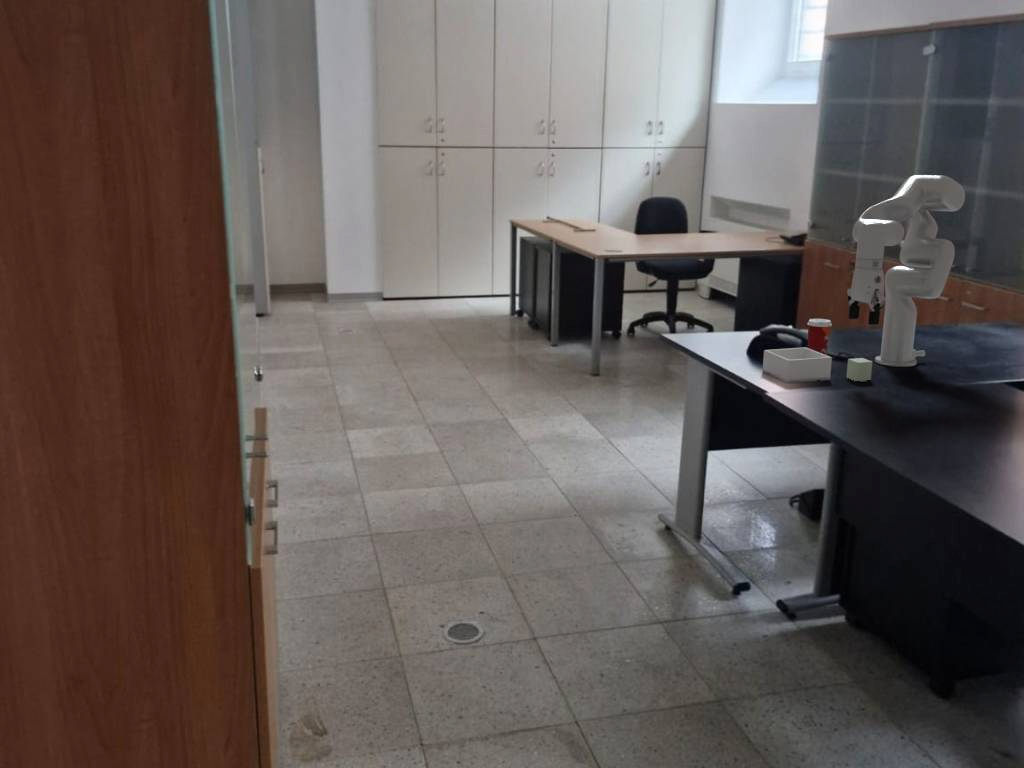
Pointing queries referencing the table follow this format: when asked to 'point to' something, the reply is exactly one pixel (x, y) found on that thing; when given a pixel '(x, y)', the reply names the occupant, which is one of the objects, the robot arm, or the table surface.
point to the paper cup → (819, 335)
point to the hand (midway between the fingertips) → (863, 321)
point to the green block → (859, 369)
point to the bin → (797, 365)
